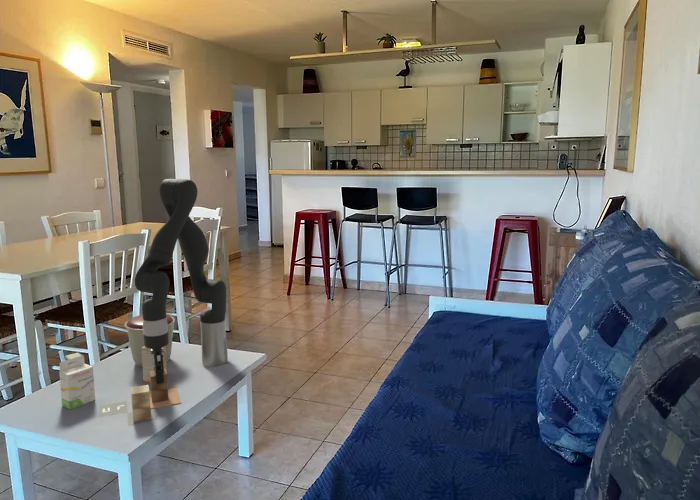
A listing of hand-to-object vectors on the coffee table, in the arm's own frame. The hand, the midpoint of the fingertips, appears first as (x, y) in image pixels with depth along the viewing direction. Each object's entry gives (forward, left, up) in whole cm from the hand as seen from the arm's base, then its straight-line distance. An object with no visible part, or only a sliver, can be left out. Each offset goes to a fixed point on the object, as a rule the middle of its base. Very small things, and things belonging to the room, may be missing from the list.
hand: (159, 377), depth 165 cm
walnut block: (0, 0, -7) cm, 7 cm away
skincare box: (+25, -19, -8) cm, 32 cm away
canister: (0, -34, -8) cm, 35 cm away
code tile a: (+14, +1, -7) cm, 16 cm away
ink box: (+24, -8, -8) cm, 27 cm away
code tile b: (+6, +10, -7) cm, 14 cm away
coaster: (0, 0, -7) cm, 7 cm away
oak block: (+6, +10, -7) cm, 14 cm away
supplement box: (0, -18, -8) cm, 19 cm away
